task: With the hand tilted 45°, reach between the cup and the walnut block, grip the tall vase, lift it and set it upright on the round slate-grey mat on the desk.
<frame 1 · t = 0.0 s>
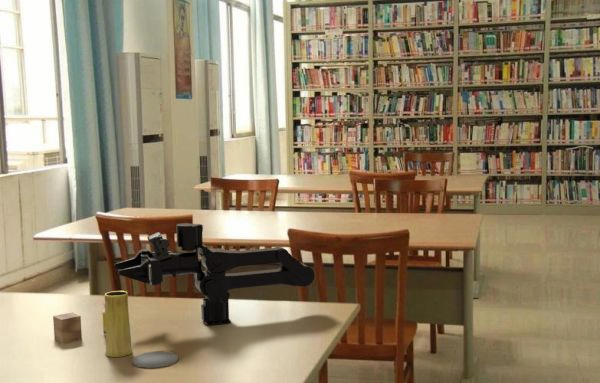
hand: (116, 269, 189), 17 cm above the table, tool horizontal, fingers open, 9 cm apart
vase: (119, 354, 174), on the table
mat: (155, 360, 168), on the table
walnut block: (68, 339, 187), on the table
supplement bottle: (113, 334, 190), on the table
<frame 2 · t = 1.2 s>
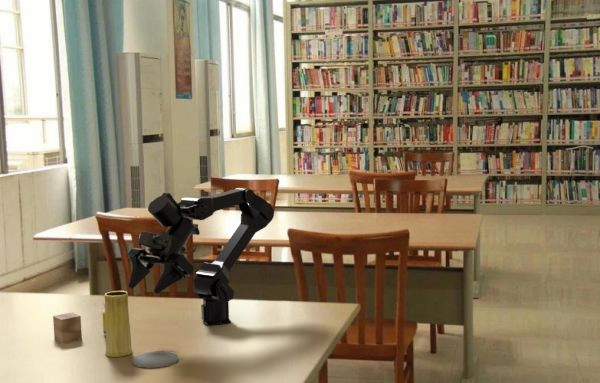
hand: (142, 290, 179), 13 cm above the table, tool tilted 45°, fingers open, 9 cm apart
nothing on the table moved.
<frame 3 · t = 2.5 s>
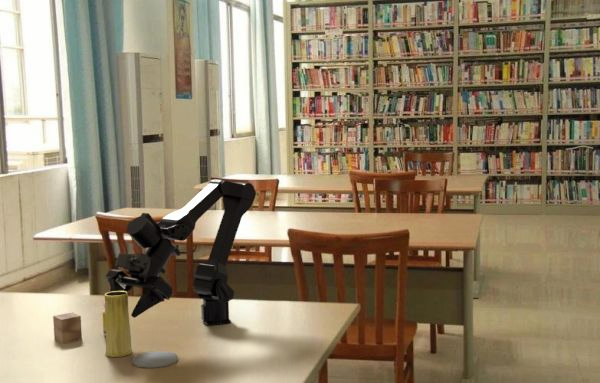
hand: (119, 313, 174), 9 cm above the table, tool tilted 45°, fingers open, 9 cm apart
nothing on the table moved.
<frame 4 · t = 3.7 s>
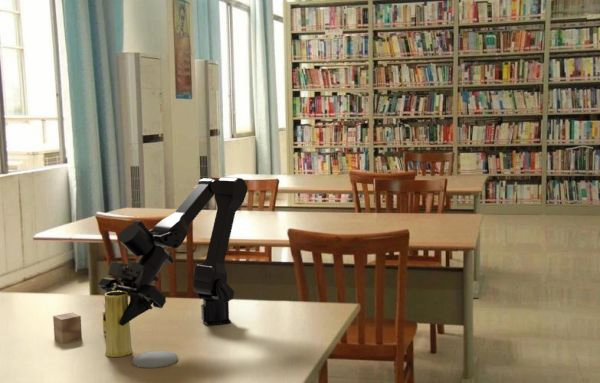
hand: (112, 322, 172), 8 cm above the table, tool tilted 45°, fingers closed on vase, 5 cm apart
vase: (118, 354, 174), on the table, touching gripper
everything else where it was.
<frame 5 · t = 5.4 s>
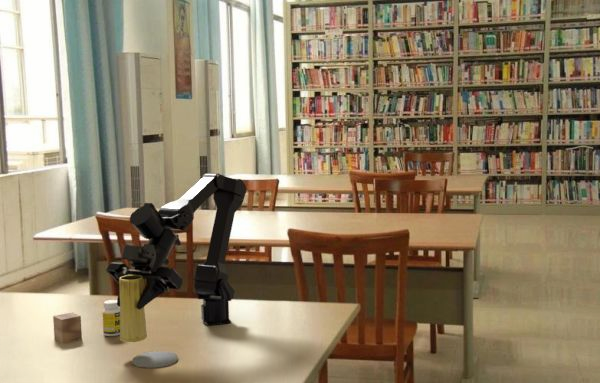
hand: (128, 307, 169), 12 cm above the table, tool tilted 45°, fingers closed on vase, 5 cm apart
vase: (133, 339, 171), point 4 cm above the table, touching gripper
everything else where it was.
when the fingers open (9 cm above the table, at t = 7.5 s): vase stays where it is, resting on mat.
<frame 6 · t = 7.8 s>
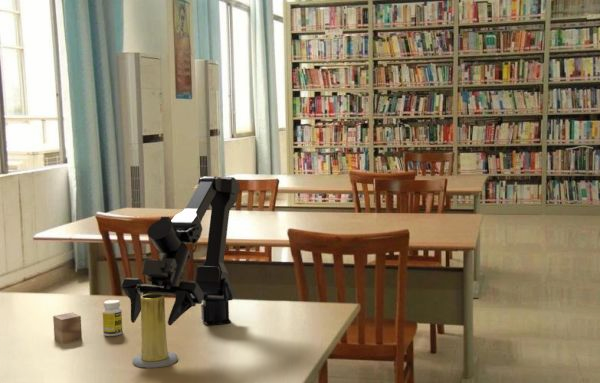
hand: (150, 323, 166), 9 cm above the table, tool tilted 45°, fingers open, 9 cm apart
vase: (155, 358, 168), resting on mat
everything else where it was.
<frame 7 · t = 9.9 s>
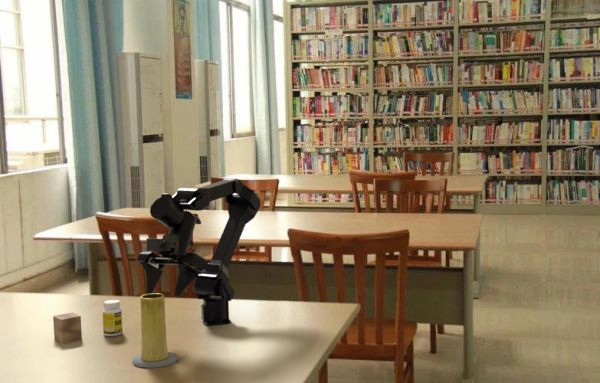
hand: (162, 294, 179), 12 cm above the table, tool tilted 30°, fingers open, 9 cm apart
nothing on the table moved.
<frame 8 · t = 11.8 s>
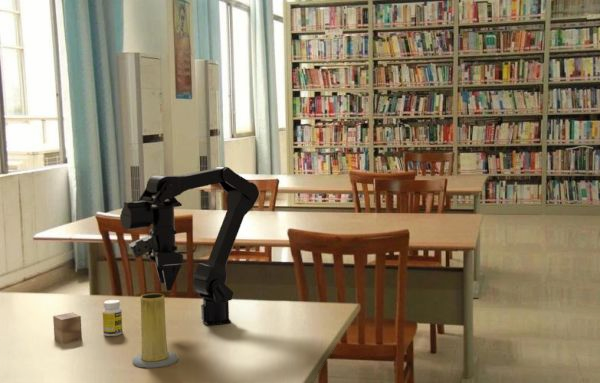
hand: (165, 286, 189), 12 cm above the table, tool pointing down, fingers open, 9 cm apart
nothing on the table moved.
at the end: vase 0.3 cm from the mat (horizontally); vase tilted 0°; the gripper is holding nothing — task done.
